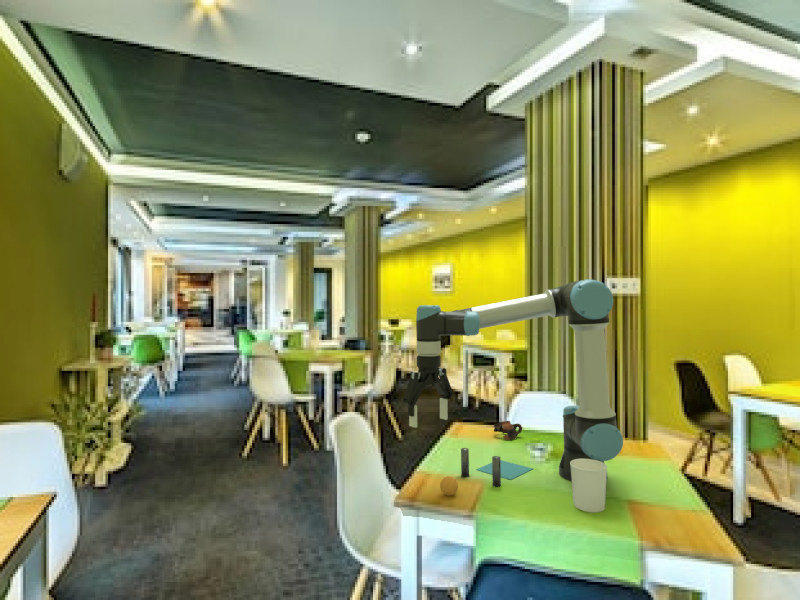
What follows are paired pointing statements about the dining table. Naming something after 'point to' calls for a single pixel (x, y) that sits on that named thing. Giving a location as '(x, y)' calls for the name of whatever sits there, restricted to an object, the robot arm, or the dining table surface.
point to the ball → (448, 486)
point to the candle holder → (588, 484)
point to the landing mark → (507, 469)
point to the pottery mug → (508, 429)
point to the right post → (496, 471)
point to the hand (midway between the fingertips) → (428, 422)
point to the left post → (464, 462)
